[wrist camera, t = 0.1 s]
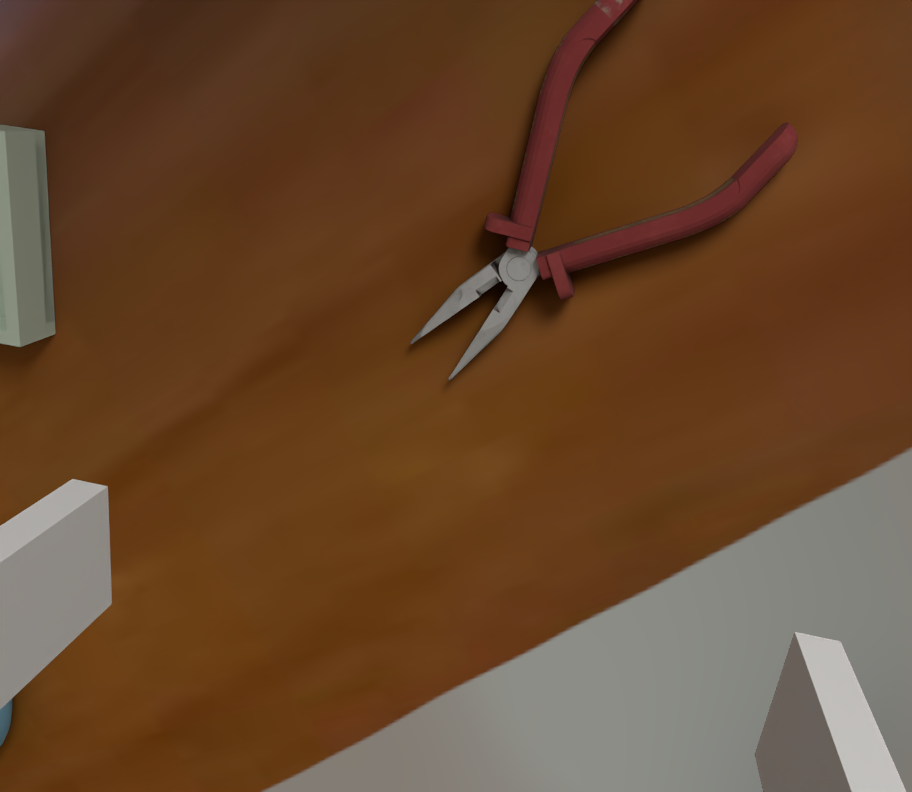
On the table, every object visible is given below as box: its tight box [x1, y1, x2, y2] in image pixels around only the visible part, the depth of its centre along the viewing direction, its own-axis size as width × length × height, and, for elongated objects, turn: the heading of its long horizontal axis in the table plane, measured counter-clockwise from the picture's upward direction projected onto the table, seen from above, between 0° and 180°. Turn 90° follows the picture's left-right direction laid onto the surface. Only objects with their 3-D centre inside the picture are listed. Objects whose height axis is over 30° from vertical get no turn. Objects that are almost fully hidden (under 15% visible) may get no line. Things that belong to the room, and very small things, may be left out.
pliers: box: [411, 0, 798, 380], centre depth 39 cm, size 12×20×3 cm, turn 138°
